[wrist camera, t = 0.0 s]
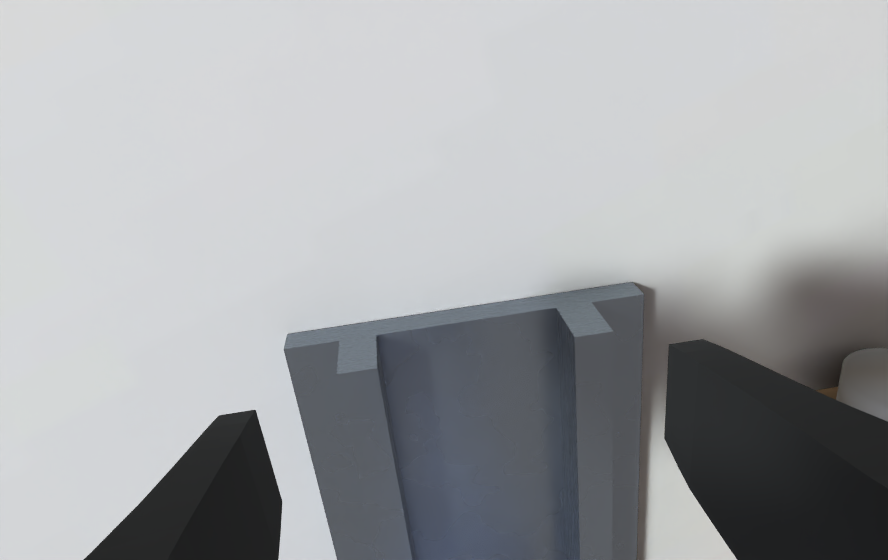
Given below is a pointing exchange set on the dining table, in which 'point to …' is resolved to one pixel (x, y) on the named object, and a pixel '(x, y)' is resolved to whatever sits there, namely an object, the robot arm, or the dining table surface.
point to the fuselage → (864, 382)
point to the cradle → (479, 429)
